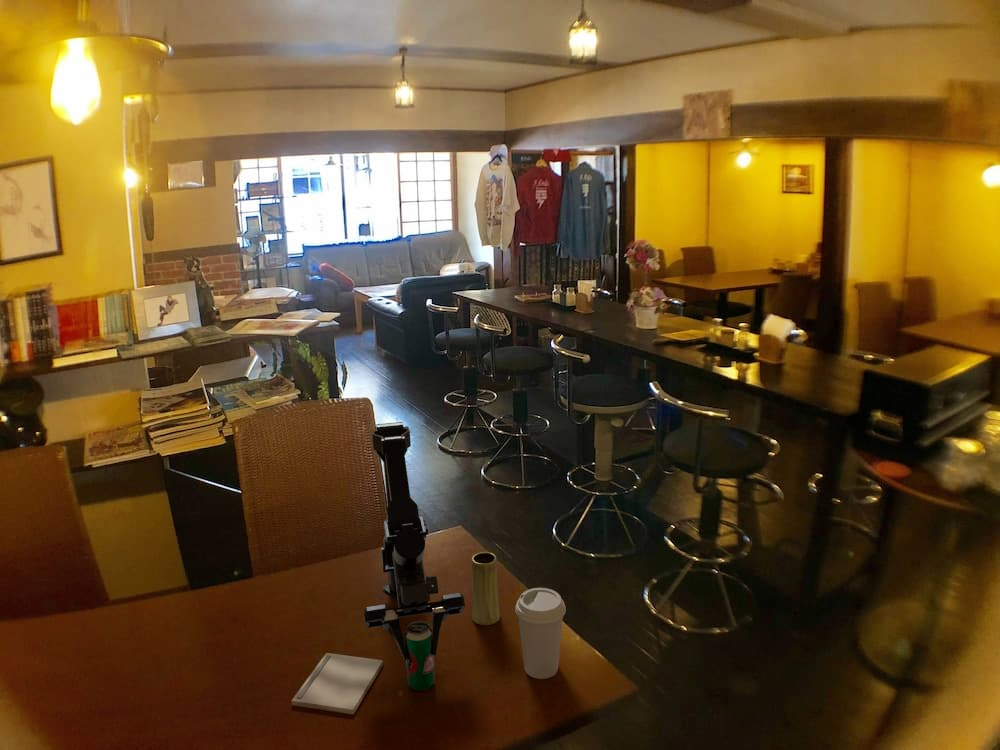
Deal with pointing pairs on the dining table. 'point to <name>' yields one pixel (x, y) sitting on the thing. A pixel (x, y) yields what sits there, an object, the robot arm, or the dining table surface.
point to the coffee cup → (540, 630)
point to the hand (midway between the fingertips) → (420, 657)
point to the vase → (485, 589)
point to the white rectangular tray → (338, 683)
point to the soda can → (419, 656)
